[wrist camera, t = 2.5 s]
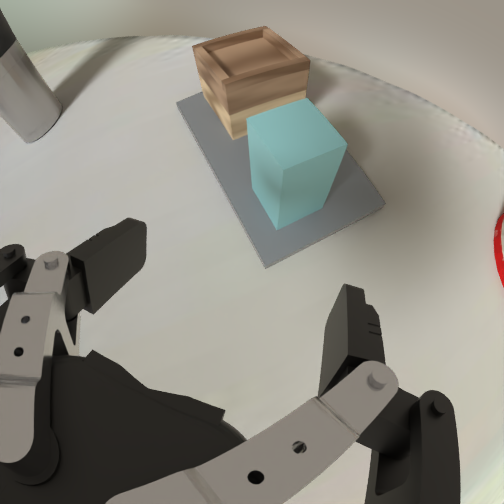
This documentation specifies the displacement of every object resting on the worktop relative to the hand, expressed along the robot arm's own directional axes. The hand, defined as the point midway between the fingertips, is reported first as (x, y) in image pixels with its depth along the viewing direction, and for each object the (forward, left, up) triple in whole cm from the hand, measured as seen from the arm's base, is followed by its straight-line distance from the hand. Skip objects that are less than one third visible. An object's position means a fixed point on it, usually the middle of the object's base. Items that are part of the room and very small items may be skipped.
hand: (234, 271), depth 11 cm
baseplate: (-15, +10, -15) cm, 23 cm away
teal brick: (-8, +8, -14) cm, 18 cm away
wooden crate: (-21, +11, -15) cm, 28 cm away
